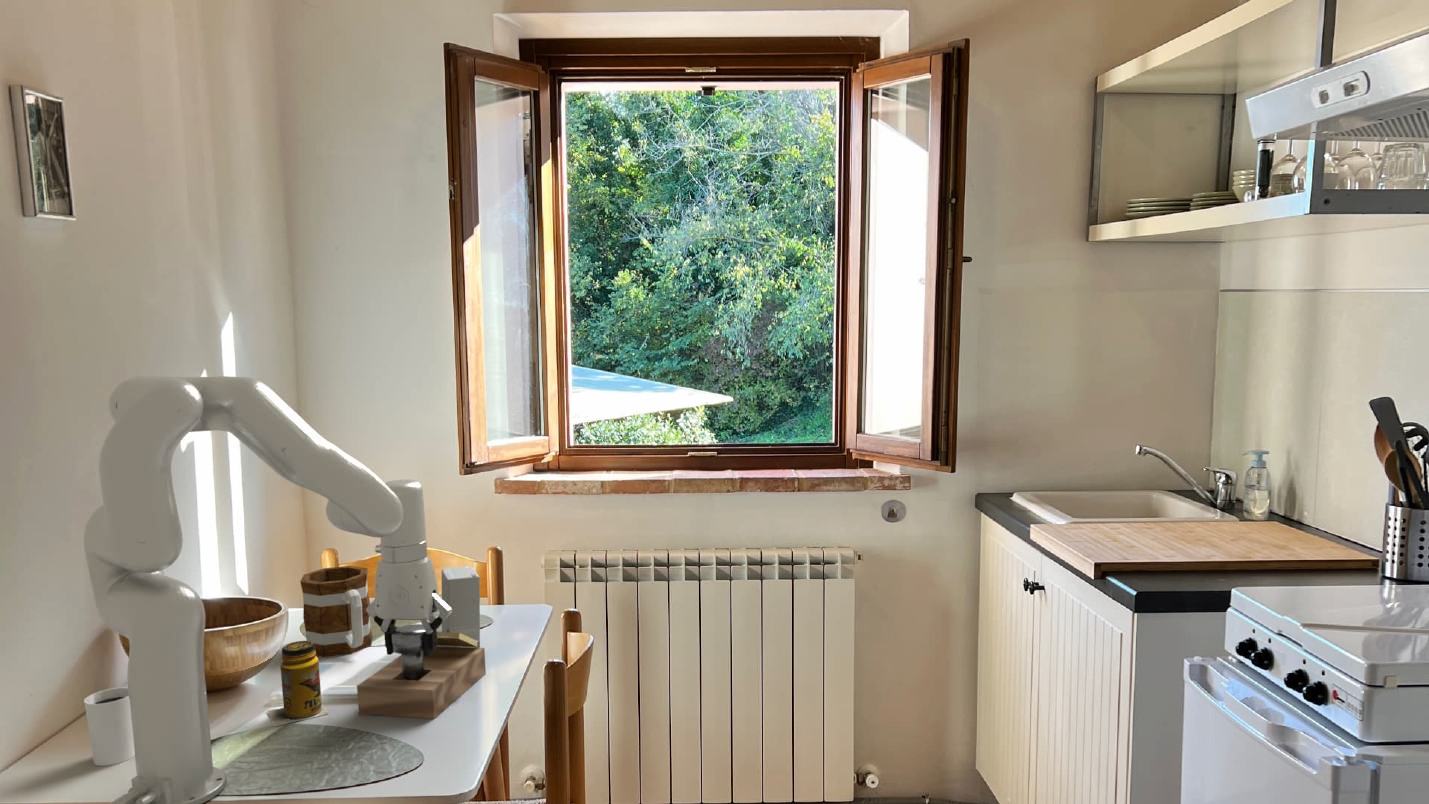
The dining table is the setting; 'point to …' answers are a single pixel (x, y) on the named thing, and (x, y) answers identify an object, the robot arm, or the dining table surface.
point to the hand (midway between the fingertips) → (411, 651)
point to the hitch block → (422, 684)
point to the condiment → (299, 684)
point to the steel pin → (409, 649)
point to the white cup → (110, 726)
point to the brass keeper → (456, 640)
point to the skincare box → (462, 601)
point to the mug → (337, 610)
